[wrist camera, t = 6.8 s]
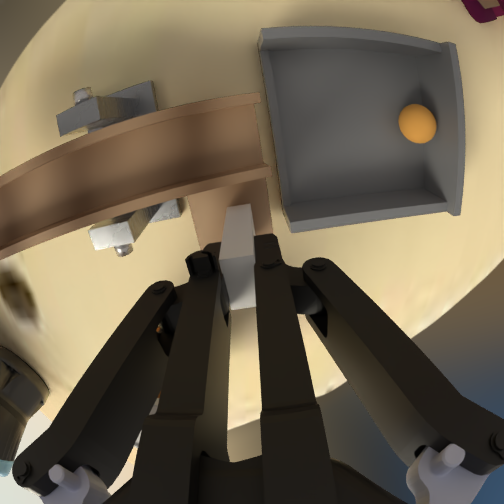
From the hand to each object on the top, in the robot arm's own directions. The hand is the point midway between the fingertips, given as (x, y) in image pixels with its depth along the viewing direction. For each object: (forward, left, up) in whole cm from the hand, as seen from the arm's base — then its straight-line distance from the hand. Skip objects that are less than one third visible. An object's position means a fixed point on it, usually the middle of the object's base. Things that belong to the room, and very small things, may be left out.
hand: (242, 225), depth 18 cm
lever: (-10, +2, +1) cm, 10 cm away
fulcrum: (-8, +5, -5) cm, 11 cm away
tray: (+10, +5, -5) cm, 12 cm away
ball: (+14, +5, -3) cm, 16 cm away
